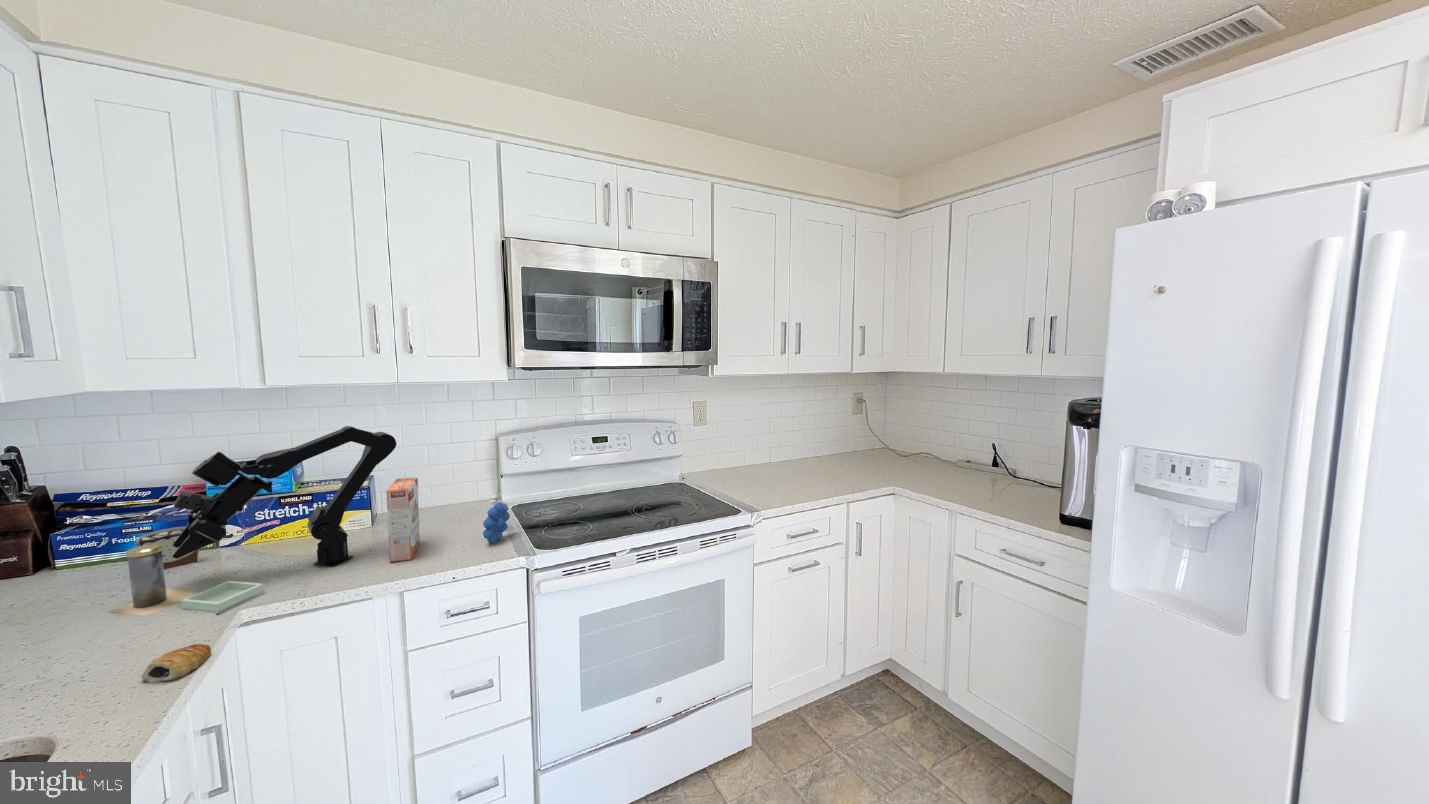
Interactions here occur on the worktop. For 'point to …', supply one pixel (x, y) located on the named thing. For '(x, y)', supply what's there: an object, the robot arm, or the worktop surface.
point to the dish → (223, 597)
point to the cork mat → (172, 598)
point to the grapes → (496, 522)
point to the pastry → (176, 663)
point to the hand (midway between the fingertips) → (174, 552)
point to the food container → (168, 546)
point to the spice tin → (147, 575)
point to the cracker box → (403, 519)
